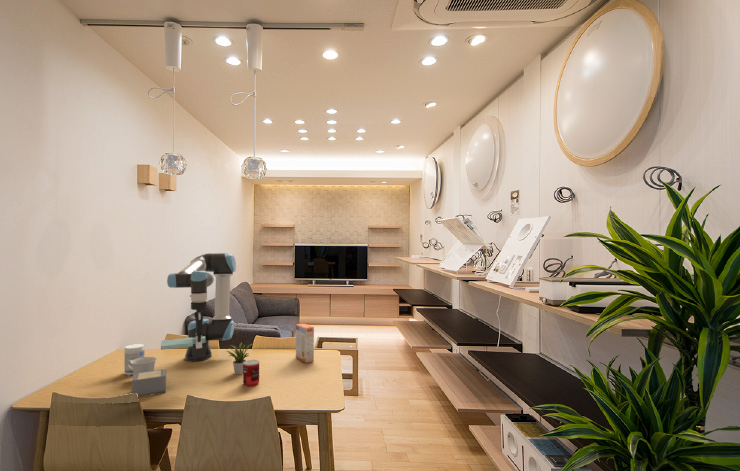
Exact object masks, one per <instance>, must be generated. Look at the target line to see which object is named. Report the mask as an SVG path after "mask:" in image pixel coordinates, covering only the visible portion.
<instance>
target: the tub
mask: <svg viewBox="0 0 740 471" xmlns="http://www.w3.org/2000/svg"><path fill="white" fill-rule="evenodd" d="M166 392H167V369H166V368H163V369H156V370H155V369H154V371H148V372H140V373H134V375H132V379H131V394H132V393H137V394H138V396H139V397H138V398H141V397H147V396H152V395H151V394H154V395H158V394H159V393H160V394H165V393H166ZM160 394H159V395H160ZM146 395H147V396H146Z"/></svg>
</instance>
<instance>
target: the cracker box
mask: <svg viewBox="0 0 740 471" xmlns="http://www.w3.org/2000/svg"><path fill="white" fill-rule="evenodd" d="M314 337H315V327H314V326H311V325H310V324H308V323H305V322H303V323H297V324H295V358H296V359H298V360H300V361H301V362H302V363H305V364H306V363H307V364H308V363H314V361H315V360H314V357H315V356H314V353H315V350H314V348H315V347H314V345H315V344H314V343H315V339H314Z"/></svg>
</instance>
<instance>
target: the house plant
mask: <svg viewBox="0 0 740 471" xmlns="http://www.w3.org/2000/svg"><path fill="white" fill-rule="evenodd" d="M252 345H253V343H251V344H249V345H247V344H245V345H243V342H241V343H239V346H238V347H239V348H238V347H237V346H236V345H235V344H233V345H232V344H230V346H231V347H232V348H234V350H233V349H232V348H230V347H228V349H230V350H231V351H232V352H231V351H229V350H226V352H227V353H228V354H229V357H232V358H234V360H233V361H232V365H233V370H234V374H235V375H243V362H245V361H247V360H246V359H245V358H248V357H250V353H248V352H247V351H248V350H249V349H250V346H252ZM245 346H247V347H246V348H245Z"/></svg>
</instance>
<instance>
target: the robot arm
mask: <svg viewBox="0 0 740 471" xmlns="http://www.w3.org/2000/svg"><path fill="white" fill-rule="evenodd" d="M235 258H236V257H235V256H234V254H233V253H227V252H225V253H223V252H222V253H217V252H216V253H205V254H201V255H199V256H196V257H195V258H193V259H192V260H191V261H190V263H189V264H188V265H187V266H185V267H184V268H183V269H181V270H180V271H179V272H177V273H170V274H168V275H167V277H166V278H167V279H166V283H167V286H168V287H169V288H175V289H176V288H177V289H178V288H179V289H181V288H183V289H184V288H190V295H189V298H190V300H191V302H190V310H193V311H195V312H194V316H195V317H194V320H193V321H190V322H189V324H188V325H187V338H194V337H196V344H193V346H190V347H186V348H187V349H186V352H185V355H184V359H185V361H187V362H200V361H206V360H208V359H211V357H212V355H213V353H212V350H211V347H210V344H209V343H210V341H227V340H230V339H232V337H233V334H234V333H235V332H234V331H235V325H236V324H235V321H234V320H232V319H233V318H232V316H231V315H230V302H231V301H230V300H231V297H230V296H231V295H230V294H231V277H232V276H233V275H234V272H236V271H237V265H236V264H237V263H236V259H235ZM212 273H213V274H212ZM214 277H215V278H214ZM214 281H215V288H214V289H215V291H214V292H215V294H214V297H215V298H214V316H213V317H212V318H211V321H210V319H209V318H204V312H203V310H205V309H207V308H208V302H207V301H208V287H210V286H212V284H213V283H214ZM203 336H205V338H206V343H202V337H203Z"/></svg>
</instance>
